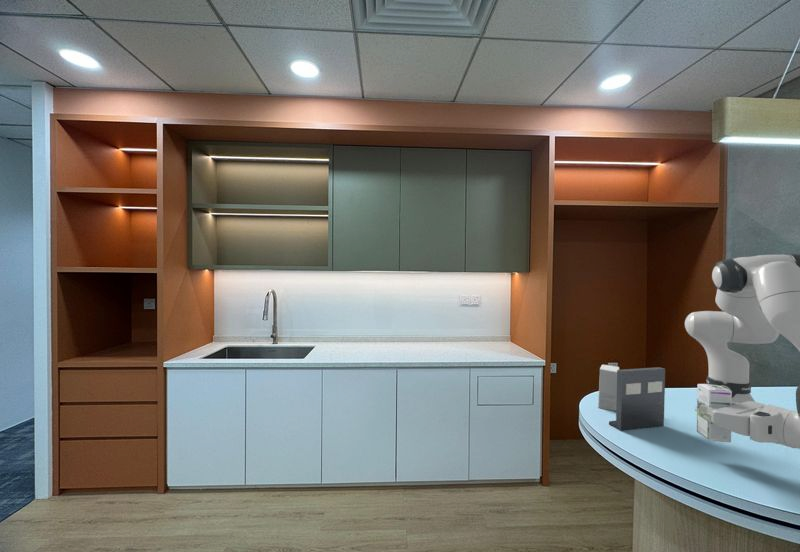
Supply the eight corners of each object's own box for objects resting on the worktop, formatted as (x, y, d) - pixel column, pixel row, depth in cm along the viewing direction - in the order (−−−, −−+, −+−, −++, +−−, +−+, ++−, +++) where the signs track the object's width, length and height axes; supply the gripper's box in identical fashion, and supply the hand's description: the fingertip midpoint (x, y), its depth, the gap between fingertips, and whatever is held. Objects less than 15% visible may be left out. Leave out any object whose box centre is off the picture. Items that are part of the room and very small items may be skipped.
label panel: (650, 420, 129) (651, 364, 128) (664, 426, 124) (666, 368, 123) (608, 424, 125) (610, 367, 124) (621, 431, 119) (622, 371, 119)
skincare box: (600, 401, 147) (601, 363, 147) (619, 405, 143) (620, 366, 143) (597, 408, 140) (598, 368, 140) (617, 412, 136) (618, 371, 136)
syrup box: (732, 443, 99) (733, 390, 99) (707, 440, 100) (709, 388, 100) (718, 434, 105) (719, 384, 105) (695, 431, 106) (696, 382, 106)
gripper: (795, 406, 95) (730, 390, 107) (755, 417, 86) (689, 399, 99) (794, 429, 95) (729, 411, 107) (754, 443, 86) (689, 421, 99)
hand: (710, 405), depth 103 cm, fingers closed on syrup box, 8 cm apart
